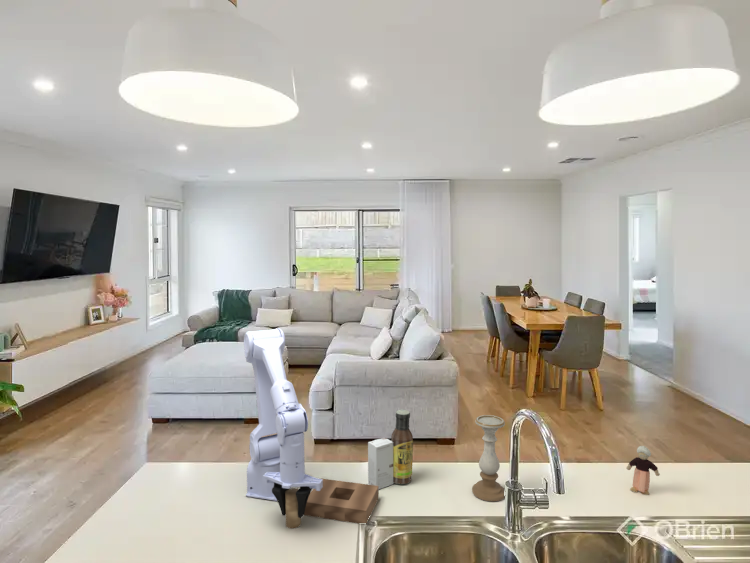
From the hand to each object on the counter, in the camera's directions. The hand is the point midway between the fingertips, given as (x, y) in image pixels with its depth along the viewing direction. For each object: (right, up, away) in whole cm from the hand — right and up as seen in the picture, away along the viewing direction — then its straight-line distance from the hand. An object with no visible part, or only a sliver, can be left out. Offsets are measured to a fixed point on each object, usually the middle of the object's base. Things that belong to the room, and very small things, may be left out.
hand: (293, 514), depth 114 cm
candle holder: (+50, -1, +14) cm, 52 cm away
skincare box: (+21, -1, +19) cm, 29 cm away
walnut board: (+11, -2, +8) cm, 14 cm away
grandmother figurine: (+92, -1, +14) cm, 93 cm away
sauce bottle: (+27, -1, +21) cm, 34 cm away
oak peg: (0, -2, 0) cm, 2 cm away
